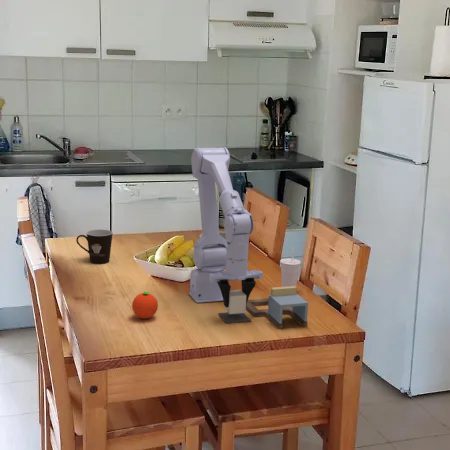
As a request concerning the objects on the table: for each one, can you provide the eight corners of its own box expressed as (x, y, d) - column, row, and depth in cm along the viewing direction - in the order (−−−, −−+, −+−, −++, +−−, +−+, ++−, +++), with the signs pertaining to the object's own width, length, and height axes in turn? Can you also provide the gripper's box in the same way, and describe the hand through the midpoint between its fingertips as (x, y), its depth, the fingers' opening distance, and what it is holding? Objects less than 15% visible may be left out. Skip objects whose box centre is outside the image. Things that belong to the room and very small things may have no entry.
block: (229, 314, 189) (230, 296, 188) (224, 308, 193) (225, 291, 192) (245, 312, 191) (246, 295, 190) (239, 307, 195) (240, 289, 194)
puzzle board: (266, 330, 185) (266, 325, 185) (241, 304, 203) (241, 300, 203) (318, 325, 190) (318, 320, 190) (289, 300, 208) (289, 296, 208)
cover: (279, 323, 186) (280, 297, 184) (267, 312, 193) (269, 287, 192) (306, 321, 189) (308, 295, 187) (294, 310, 196) (296, 285, 194)
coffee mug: (117, 260, 239) (118, 232, 237) (100, 266, 232) (100, 237, 230) (92, 254, 245) (92, 226, 243) (74, 260, 238) (74, 231, 236)
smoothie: (297, 295, 212) (300, 251, 209) (276, 293, 213) (279, 249, 210) (299, 289, 218) (303, 245, 215) (279, 287, 220) (282, 243, 216)
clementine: (134, 311, 195) (135, 286, 193) (159, 312, 195) (160, 288, 193) (129, 321, 187) (130, 296, 185) (155, 323, 187) (156, 297, 185)
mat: (226, 323, 188) (226, 322, 188) (218, 314, 195) (218, 312, 195) (250, 321, 191) (250, 320, 191) (242, 312, 197) (242, 310, 197)
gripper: (216, 263, 183) (214, 312, 186) (267, 260, 187) (265, 308, 190) (207, 255, 189) (206, 303, 192) (258, 252, 194) (255, 299, 197)
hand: (235, 305), depth 192 cm, fingers closed on block, 4 cm apart
